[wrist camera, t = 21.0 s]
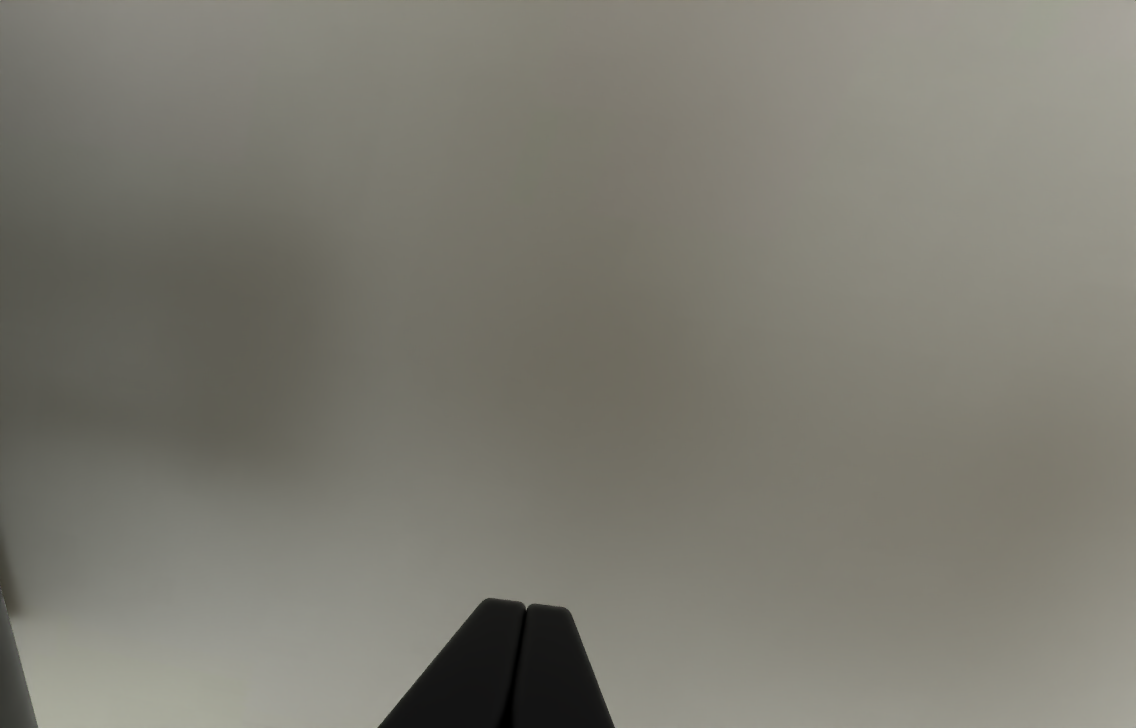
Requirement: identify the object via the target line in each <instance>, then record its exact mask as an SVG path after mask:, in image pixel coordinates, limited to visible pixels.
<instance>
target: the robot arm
mask: <svg viewBox="0 0 1136 728" xmlns="http://www.w3.org/2000/svg"><path fill="white" fill-rule="evenodd" d="M378 728H615V727H614V724H613V722H612V719H611V716H610V714H609V711H608V709H607V706H606V703H605V701H604V698H603V695H602V693H601V690H600V688H599V685H598V682H597V680H596V677H595V675H594V672H593V669H592V667H591V664H590V661H589V659H588V656H587V654H586V651H585V648H584V646H583V643H582V640H581V638H580V635H579V633H578V630H577V627H576V625H575V622H574V620H573V617H572V615H571V613H570V611H569V610H568V609H566V608H564V607H558V606H550V605H542V604H531V605H529V606H528V608H527V610H526V607H525V605H524V604H523V603H522V602H519V601H511V600H503V599H495V598H488V599H485V600H483V601H482V602H481V603H480V604H479V605H478V607H477V608H476V609H475V610H474V612H473V613H472V614H471V615H470V616H469V618H468V619H467V620H466V621H465V622H464V624H463V625H462V626H461V627H460V628H459V630H458V631H457V632H456V633H455V635H454V636H453V637H452V638H451V639H450V641H449V642H448V643H447V644H446V645H445V647H444V648H443V649H442V650H441V652H440V653H439V654H438V655H437V656H436V658H435V659H434V660H433V661H432V662H431V664H430V665H429V666H428V667H427V669H426V670H425V671H424V672H423V673H422V675H421V676H420V677H419V678H418V679H417V681H416V682H415V683H414V684H413V685H412V687H411V688H410V689H409V690H408V692H407V693H406V694H405V695H404V696H403V698H402V699H401V700H400V701H399V702H398V704H397V705H396V706H395V707H394V709H393V710H392V711H391V712H390V713H389V715H388V716H387V717H386V718H385V719H384V721H383V722H382V723H381V724H380V725H379V727H378Z"/></svg>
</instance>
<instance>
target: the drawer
mask: <svg viewBox="0 0 1136 728" xmlns="http://www.w3.org/2000/svg"><path fill="white" fill-rule="evenodd" d="M0 728H38V725H37V721H36V717H35V713H34V710H33V706H32V702H31V698H30V695H29V691H28V687H27V683H26V680H25V676H24V672H23V668H22V664H21V661H20V657H19V653H18V649H17V646H16V642H15V638H14V634H13V631H12V627H11V623H10V619H9V615H8V612H7V608H6V604H5V600H4V597H3V593H2V589H1V585H0Z"/></svg>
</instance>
